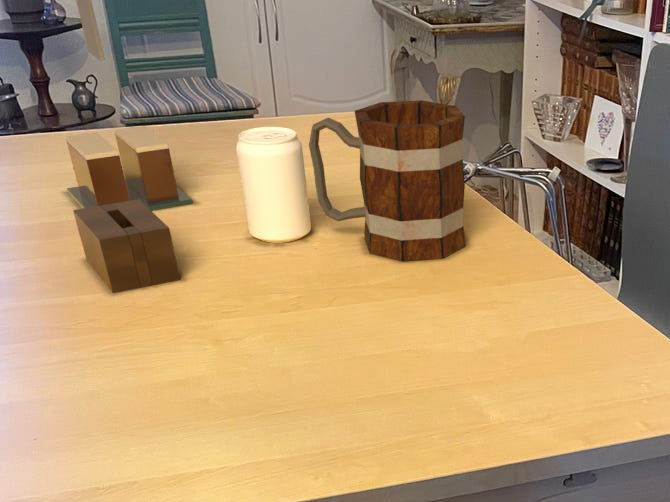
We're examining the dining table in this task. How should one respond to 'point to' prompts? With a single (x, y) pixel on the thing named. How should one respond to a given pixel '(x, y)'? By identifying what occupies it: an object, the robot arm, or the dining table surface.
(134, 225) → the knife block
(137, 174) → the twin slanted wooden posts
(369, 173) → the mug
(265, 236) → the beverage can
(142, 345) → the dining table surface
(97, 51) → the knife
